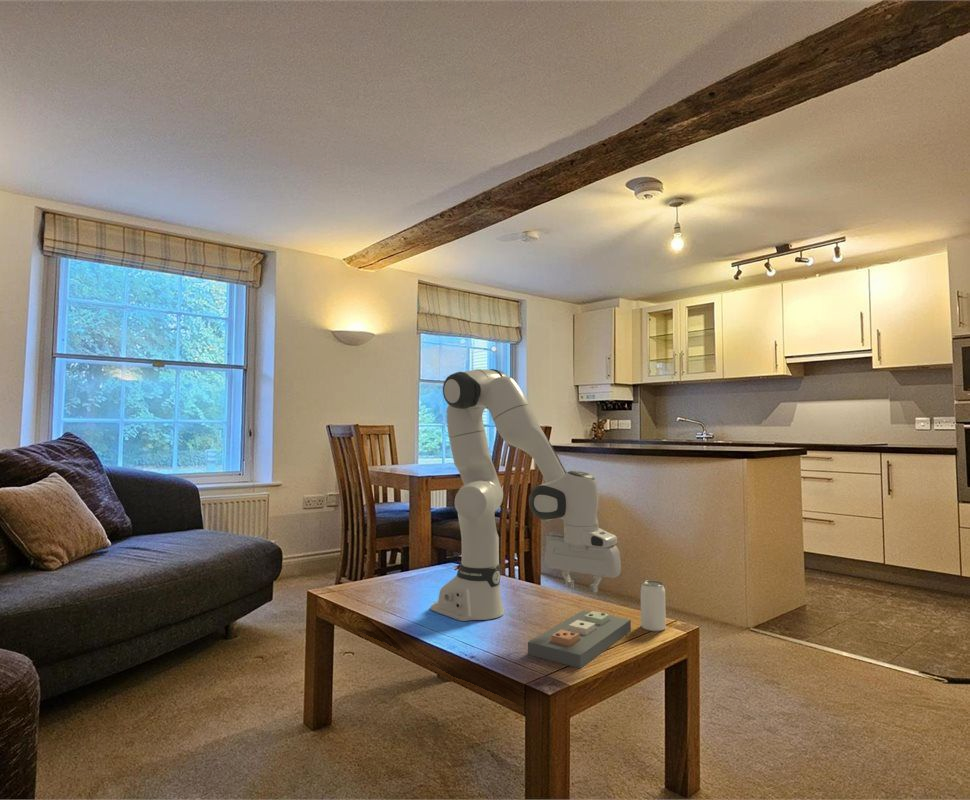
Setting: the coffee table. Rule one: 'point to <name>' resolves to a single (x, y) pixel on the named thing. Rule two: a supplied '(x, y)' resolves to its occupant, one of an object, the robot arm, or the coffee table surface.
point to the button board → (585, 646)
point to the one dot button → (582, 627)
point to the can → (653, 606)
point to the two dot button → (597, 618)
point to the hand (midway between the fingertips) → (581, 589)
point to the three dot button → (565, 638)
